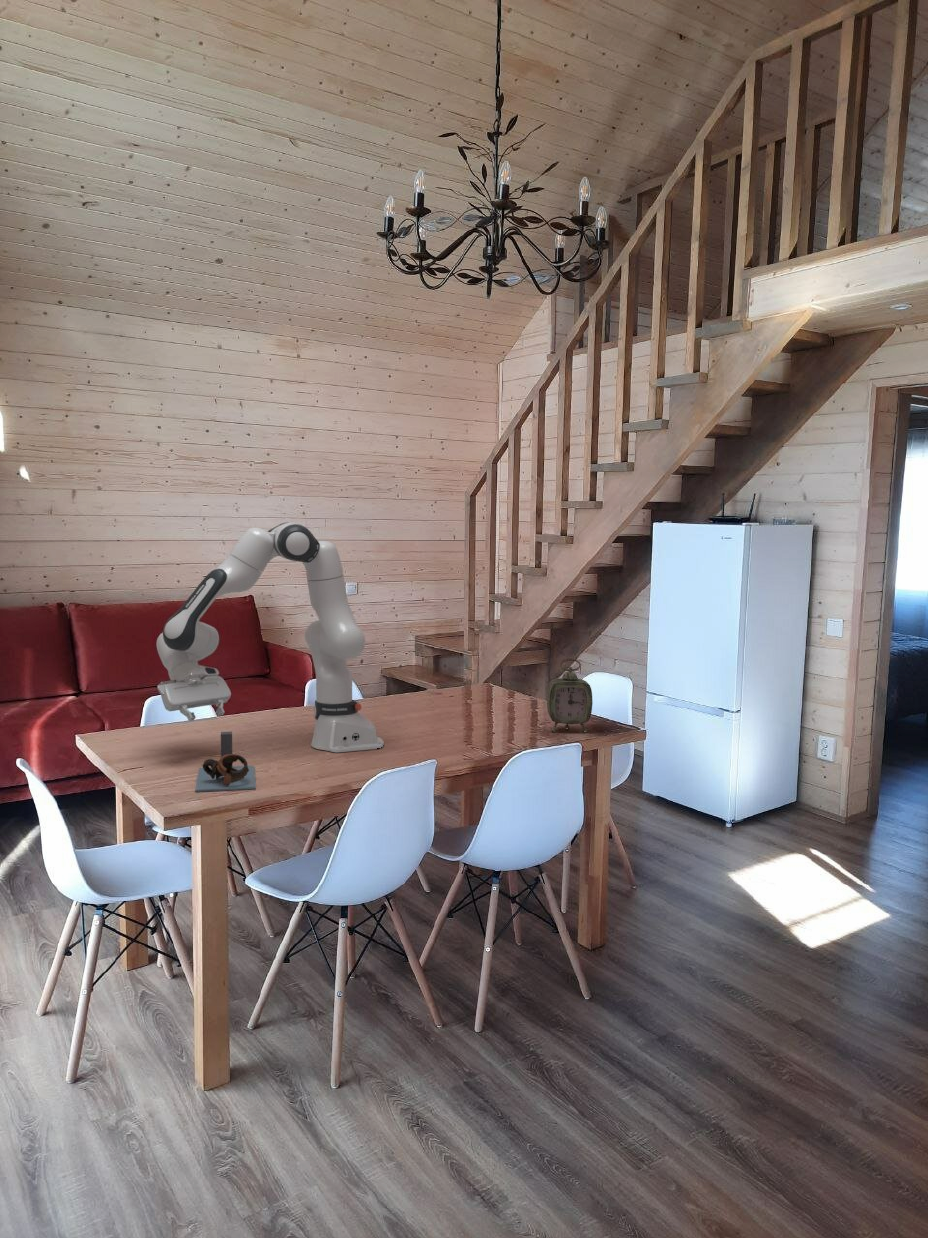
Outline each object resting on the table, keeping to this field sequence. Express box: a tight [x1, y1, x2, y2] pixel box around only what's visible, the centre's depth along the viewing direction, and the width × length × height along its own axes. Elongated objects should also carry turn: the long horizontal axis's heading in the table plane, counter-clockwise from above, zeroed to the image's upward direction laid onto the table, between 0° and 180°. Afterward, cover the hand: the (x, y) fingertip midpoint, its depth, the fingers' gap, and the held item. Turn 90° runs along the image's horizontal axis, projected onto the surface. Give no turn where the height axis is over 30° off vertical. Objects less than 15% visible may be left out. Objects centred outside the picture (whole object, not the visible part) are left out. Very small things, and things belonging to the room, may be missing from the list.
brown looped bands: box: [201, 753, 249, 786], centre depth 237 cm, size 12×10×8 cm
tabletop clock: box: [546, 658, 594, 733], centre depth 305 cm, size 14×9×25 cm, turn 92°
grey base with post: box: [194, 731, 256, 793], centre depth 241 cm, size 15×21×10 cm
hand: (207, 717), depth 255 cm, fingers open, 8 cm apart
